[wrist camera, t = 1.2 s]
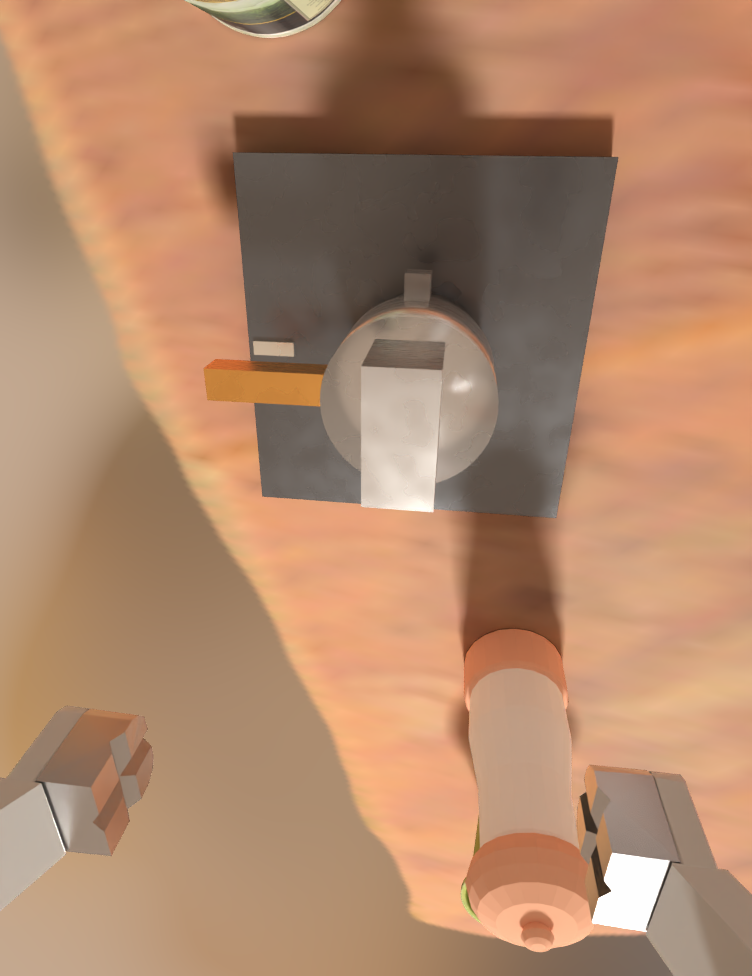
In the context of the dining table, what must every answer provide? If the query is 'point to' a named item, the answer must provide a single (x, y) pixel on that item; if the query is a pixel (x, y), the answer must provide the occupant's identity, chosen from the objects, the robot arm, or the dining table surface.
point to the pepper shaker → (524, 794)
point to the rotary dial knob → (389, 394)
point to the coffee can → (267, 15)
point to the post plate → (471, 257)
